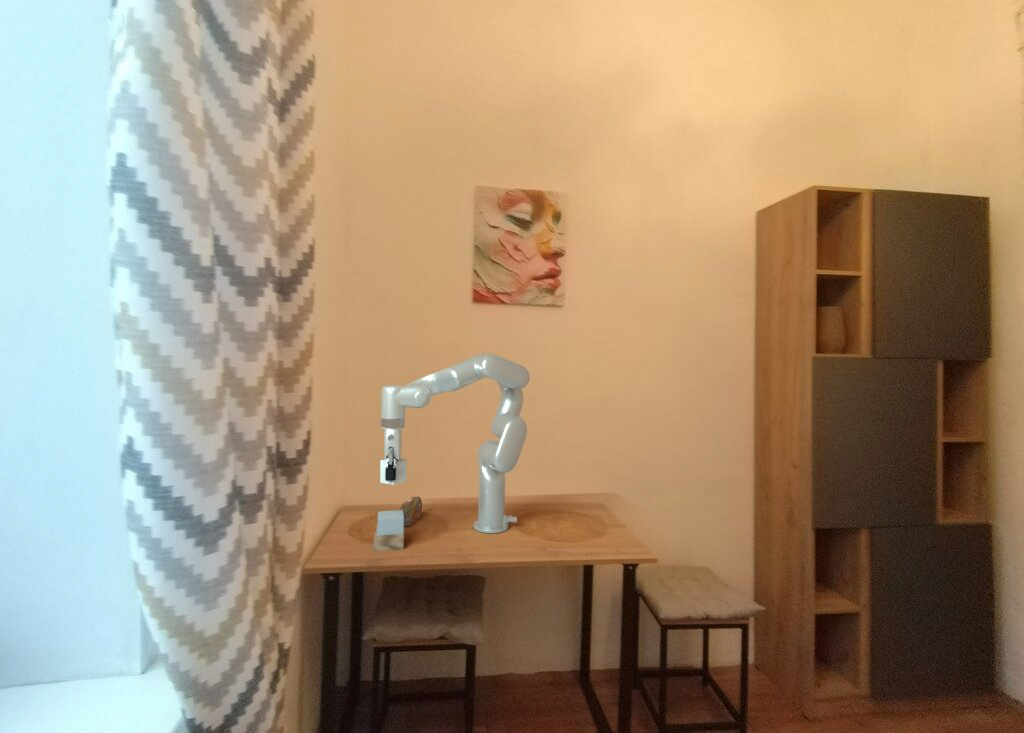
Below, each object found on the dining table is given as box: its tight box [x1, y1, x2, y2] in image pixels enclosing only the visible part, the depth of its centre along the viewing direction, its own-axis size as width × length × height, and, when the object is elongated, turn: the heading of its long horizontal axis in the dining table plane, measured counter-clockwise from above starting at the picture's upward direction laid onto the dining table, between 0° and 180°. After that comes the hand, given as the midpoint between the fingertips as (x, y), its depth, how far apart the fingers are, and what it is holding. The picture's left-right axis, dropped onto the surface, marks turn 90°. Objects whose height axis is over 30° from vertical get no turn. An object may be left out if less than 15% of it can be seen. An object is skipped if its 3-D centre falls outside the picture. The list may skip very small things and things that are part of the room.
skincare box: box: [379, 458, 407, 486], centre depth 145 cm, size 6×6×7 cm
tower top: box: [376, 509, 405, 536], centre depth 145 cm, size 8×8×5 cm
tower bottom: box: [373, 526, 405, 552], centre depth 145 cm, size 9×9×5 cm
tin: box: [399, 496, 423, 527], centre depth 166 cm, size 15×3×8 cm, turn 168°
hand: (391, 476), depth 145 cm, fingers closed on skincare box, 8 cm apart
